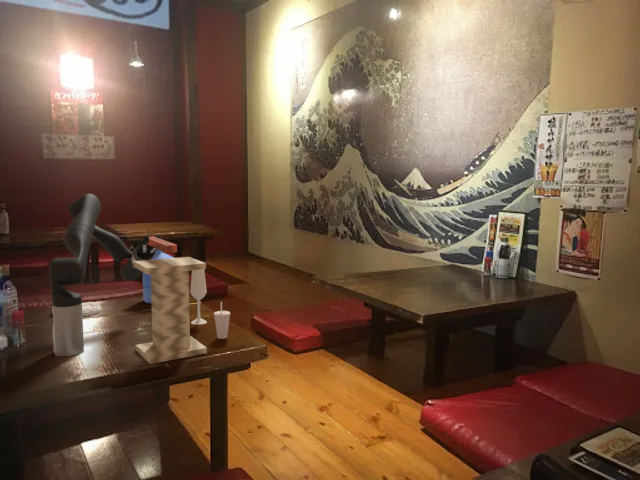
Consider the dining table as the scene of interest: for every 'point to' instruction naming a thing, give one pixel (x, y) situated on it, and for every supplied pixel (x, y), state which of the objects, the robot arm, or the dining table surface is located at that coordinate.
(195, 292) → the champagne flute
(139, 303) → the dining table surface
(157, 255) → the water jug
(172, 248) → the lacquered bar
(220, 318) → the smoothie
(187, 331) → the beech pedestal
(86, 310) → the embossed medallion
